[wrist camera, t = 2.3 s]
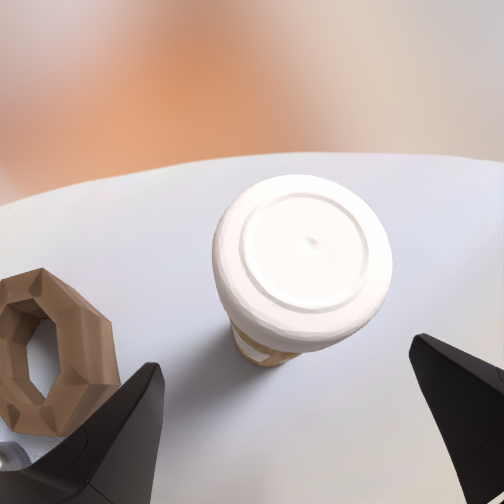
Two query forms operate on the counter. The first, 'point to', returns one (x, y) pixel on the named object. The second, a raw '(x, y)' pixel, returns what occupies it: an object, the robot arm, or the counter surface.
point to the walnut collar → (69, 349)
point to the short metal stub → (13, 457)
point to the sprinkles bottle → (298, 267)
